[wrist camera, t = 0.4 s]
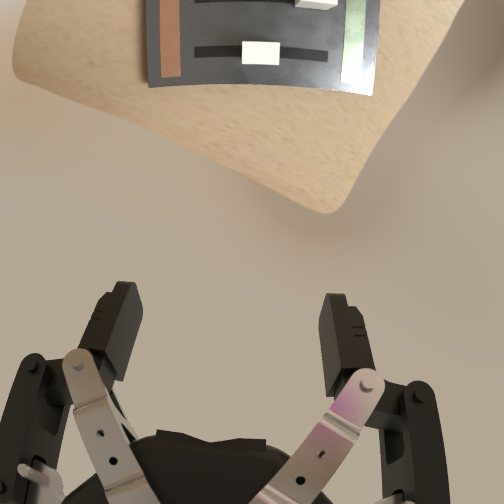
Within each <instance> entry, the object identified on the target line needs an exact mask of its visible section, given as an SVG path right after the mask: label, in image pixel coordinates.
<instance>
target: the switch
mask: <svg viewBox="0 0 504 504" xmlns="http://www.w3.org/2000/svg"><path fill="white" fill-rule="evenodd" d="M279 53H280V43H277V42H249V41H242V64H266V65H279Z"/></svg>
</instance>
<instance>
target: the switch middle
mask: <svg viewBox="0 0 504 504" xmlns="http://www.w3.org/2000/svg"><path fill="white" fill-rule="evenodd" d="M337 4H338V0H295V7H302V8H312V9H320V10H328V9H330V8H332V7H334V6H336V5H337Z"/></svg>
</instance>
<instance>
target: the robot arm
mask: <svg viewBox="0 0 504 504" xmlns="http://www.w3.org/2000/svg"><path fill="white" fill-rule="evenodd" d="M142 316H143V307H142V303H141V300H140V296H139V293H138V290H137V286H136V284H135V283H134V282H125V281H118V282H117V283H116V285H115V287H114V289H113V291H112V292H106V293H105V294H104V295H103V296H102V297H101V298H100V299H99V300H98V303H97V305H96V307H95V309H94V312H93V314H92V316H91V319H90V320H89V323H88V325H87V327H86V330H85V332H84V334H83V337H82V339H81V341H80V344H79V346H78V348H77V349H74V350H72V351H70V352H69V353H68V354H67V355H66V356H65V357H64V358H63V359H56V360H45V359H44V357H43V356H42V355H40V354H38V353H32V354H29V355H28V356H26V357H25V358H24V359H23V360H22V362H21V364H20V366H19V369H18V371H17V374H16V377H15V380H14V382H13V385H12V388H11V391H10V394H9V397H8V400H7V403H6V406H5V409H4V412H3V415H2V419H1V422H0V504H333V503H332V502H331V501H330V500H329V499H328V498H327V497H326V495H325V494H324V493H323V492H322V491H321V490H322V489H323V488H324V486H325V485H326V484H327V482H328V481H329V480H330V478H331V477H332V476H333V474H334V473H335V472H336V470H337V469H338V467H339V466H340V465H341V463H342V462H343V460H344V459H345V457H346V456H347V454H348V453H349V451H350V450H351V448H352V447H353V445H354V444H355V442H356V441H357V439H358V437H359V433H360V431H361V430H362V428H363V426H366V427H371V428H375V429H379V440H380V453H381V469H382V493H383V499H381V500H379V501H378V502H376V503H375V504H450V494H449V482H448V473H447V464H446V456H445V449H444V442H443V437H442V430H441V424H440V419H439V413H438V408H437V404H436V399H435V394H434V391H433V389H432V388H431V387H430V386H429V385H428V384H427V383H425V382H423V381H413V382H411V383H409V384H408V385H407V386H404V385H399V384H395V383H391V382H388V381H386V380H384V379H383V377H382V376H381V375H380V374H379V373H378V372H377V371H376V369H375V366H374V362H373V357H372V353H371V348H370V344H369V340H368V337H367V331H366V329H365V323H364V319H363V316H362V314H361V313H360V312H359V310H358V309H357V307H355V306H348V304H347V300H346V296H345V294H334V293H327V294H326V296H325V299H324V303H323V307H322V310H321V313H320V317H319V336H320V344H321V353H322V361H323V370H324V378H325V389H326V397H334V403H333V404H332V405H331V407H330V408H329V410H328V411H327V412H326V414H325V415H324V416H323V417H322V418H321V419H320V421H319V422H318V423H317V425H316V426H315V427H314V429H313V430H312V431H311V433H310V434H309V435H308V436H307V438H306V439H305V440H304V442H303V443H302V444H301V445H300V447H299V448H298V449H297V450H296V452H295V453H294V454H293V455H292V456H291V457H290V456H289V455H287V454H286V453H285V452H283V451H281V450H279V449H277V448H275V447H272V446H268V445H266V439H243V438H237V439H232V440H225V441H219V442H206V441H203V440H200V439H197V438H194V437H192V436H189V435H186V434H184V433H178V432H171V431H164V430H158V429H157V432H156V435H154V436H148V437H144V438H141V439H139V438H138V436H137V435H136V433H135V431H134V430H133V428H132V427H131V425H130V423H129V421H128V419H127V417H126V415H125V413H124V411H123V409H122V407H121V405H120V403H119V400H118V398H117V396H116V394H115V392H114V390H113V384H114V380H117V381H123V379H124V375H125V372H126V369H127V366H128V362H129V359H130V356H131V352H132V349H133V346H134V342H135V339H136V336H137V333H138V330H139V327H140V324H141V320H142ZM72 404H74V406H75V409H74V410H73V415H74V419H75V421H76V424H77V427H78V429H79V432H80V434H81V437H82V440H83V442H84V445H85V447H86V449H87V452H88V454H89V457H90V459H91V461H92V463H93V465H94V468H95V470H96V472H97V473H95V474H94V475H93V476H92V477H90V478H89V479H88V480H87V481H85V482H84V483H83V484H81V485H80V486H79V487H78V488H76V489H75V490H74V491H72V492H71V493H70V494H69V495H68V496H66V497H65V496H64V493H63V484H62V479H61V476H60V475H59V473H58V472H57V471H56V469H57V463H58V458H59V452H60V448H61V443H62V439H63V434H64V430H65V425H66V421H67V417H68V413H69V409H70V405H72Z"/></svg>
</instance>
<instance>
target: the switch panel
mask: <svg viewBox="0 0 504 504" xmlns="http://www.w3.org/2000/svg"><path fill="white" fill-rule="evenodd" d="M379 13H380V0H338V4H337V5H336V6H334V7H332V8H330V9H328V10H320V9H312V8H302V7H295V0H146V44H147V68H148V86H149V88H154V87H165V86H180V85H200V84H262V85H283V86H297V87H309V88H320V89H329V90H337V91H345V92H352V93H359V94H365V95H371V96H372V90H373V82H374V73H375V64H376V53H377V42H378V29H379ZM242 41H249V42H277V43H280V53H279V65H266V64H242Z"/></svg>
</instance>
